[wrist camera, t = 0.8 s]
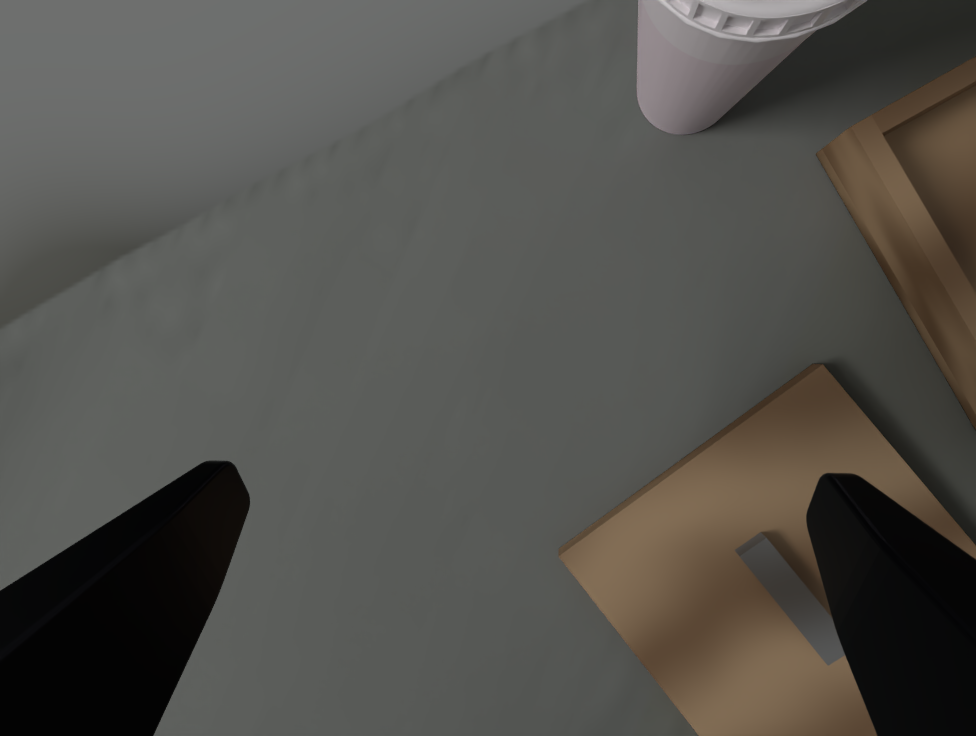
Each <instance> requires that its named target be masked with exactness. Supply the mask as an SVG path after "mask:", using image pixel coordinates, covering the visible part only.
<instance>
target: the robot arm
mask: <svg viewBox="0 0 976 736" xmlns="http://www.w3.org/2000/svg"><path fill="white" fill-rule="evenodd" d="M249 506H250V497H249V493H248V491H247V489H246V487H245V485H244V483H243V481H242V479H241V477H240V475H239V473H238V470H237V468H236V467H235V465H234V464H233V463H231V462H229V461H205V462H203V463H201V464H200V465H198V466H196V467H195V468H193V469H192V470H190V471H188V472H187V473H185V474H184V475H182V476H181V477H179V478H177V479H176V480H174V481H173V482H171V483H170V484H168V485H166V486H165V487H163V488H162V489H160V490H158V491H157V492H155V493H154V494H152V495H151V496H149V497H147V498H146V499H144V500H143V501H141V502H140V503H138V504H136V505H135V506H133V507H132V508H130V509H128V510H127V511H125V512H124V513H122V514H121V515H119V516H117V517H116V518H114V519H113V520H111V521H110V522H108V523H106V524H105V525H103V526H102V527H100V528H98V529H97V530H95V531H94V532H92V533H91V534H89V535H87V536H86V537H84V538H83V539H81V540H80V541H78V542H76V543H75V544H73V545H72V546H70V547H68V548H67V549H65V550H64V551H62V552H61V553H59V554H57V555H56V556H54V557H53V558H51V559H50V560H48V561H46V562H45V563H43V564H42V565H40V566H38V567H37V568H35V569H34V570H32V571H31V572H29V573H27V574H26V575H24V576H23V577H21V578H20V579H18V580H16V581H15V582H13V583H12V584H10V585H8V586H7V587H5V588H4V589H2V590H1V591H0V736H153V735H154V733H155V731H156V729H157V727H158V724H159V722H160V720H161V718H162V716H163V714H164V711H165V709H166V707H167V705H168V703H169V701H170V699H171V696H172V694H173V692H174V690H175V688H176V686H177V684H178V681H179V679H180V677H181V675H182V673H183V671H184V669H185V666H186V664H187V662H188V660H189V658H190V656H191V654H192V651H193V649H194V647H195V645H196V643H197V641H198V639H199V636H200V634H201V632H202V630H203V628H204V626H205V624H206V621H207V619H208V617H209V615H210V613H211V611H212V608H213V606H214V604H215V602H216V599H217V597H218V595H219V592H220V589H221V587H222V584H223V582H224V579H225V576H226V573H227V570H228V568H229V565H230V562H231V559H232V556H233V553H234V550H235V548H236V545H237V542H238V539H239V536H240V533H241V531H242V528H243V525H244V522H245V519H246V516H247V514H248V511H249ZM806 524H807V529H808V533H809V537H810V540H811V544H812V547H813V551H814V555H815V558H816V562H817V565H818V569H819V573H820V576H821V580H822V583H823V587H824V591H825V594H826V598H827V602H828V605H829V609H830V612H831V616H832V619H833V622H834V626H835V629H836V632H837V635H838V638H839V640H840V643H841V646H842V648H843V651H844V654H845V656H846V659H847V661H848V664H849V666H850V669H851V671H852V674H853V676H854V679H855V681H856V684H857V686H858V689H859V691H860V694H861V696H862V699H863V701H864V704H865V706H866V709H867V711H868V714H869V716H870V719H871V721H872V724H873V726H874V729H875V731H876V734H877V736H976V559H975V558H973V557H972V556H971V555H969V554H968V553H967V552H965V551H964V550H962V549H961V548H960V547H958V546H957V545H955V544H954V543H953V542H951V541H950V540H948V539H947V538H946V537H944V536H943V535H941V534H940V533H939V532H937V531H936V530H935V529H933V528H932V527H930V526H929V525H928V524H926V523H925V522H923V521H922V520H921V519H919V518H918V517H916V516H915V515H914V514H912V513H911V512H909V511H908V510H907V509H905V508H904V507H902V506H901V505H900V504H898V503H897V502H896V501H894V500H893V499H891V498H890V497H889V496H887V495H886V494H884V493H883V492H882V491H880V490H879V489H877V488H876V487H875V486H873V485H872V484H870V483H869V482H868V481H866V480H865V479H864V478H862V477H860V476H859V475H856V474H852V473H825V474H823V475H822V476H821V477H820V478H819V480H818V483H817V485H816V488H815V491H814V493H813V496H812V499H811V501H810V504H809V507H808V510H807V514H806Z"/></svg>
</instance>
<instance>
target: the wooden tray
mask: <svg viewBox="0 0 976 736" xmlns="http://www.w3.org/2000/svg"><path fill="white" fill-rule="evenodd" d="M816 156H817V157H818V159H819V161H820V162H821V164H822V166H823V168H824V169H825V171H826V173H827V175H828V176H829V178H830V180H831V181H832V183H833V185H834V187H835V188H836V190H837V192H838V194H839V195H840V197H841V199H842V200H843V202H844V204H845V206H846V207H847V209H848V211H849V213H850V214H851V216H852V218H853V219H854V221H855V223H856V225H857V226H858V228H859V230H860V231H861V233H862V235H863V237H864V238H865V240H866V242H867V244H868V245H869V247H870V249H871V250H872V252H873V254H874V256H875V257H876V259H877V261H878V263H879V264H880V266H881V268H882V269H883V271H884V273H885V275H886V276H887V278H888V280H889V282H890V283H891V285H892V287H893V288H894V290H895V292H896V294H897V295H898V297H899V299H900V301H901V302H902V304H903V306H904V307H905V309H906V311H907V313H908V314H909V316H910V318H911V320H912V321H913V323H914V325H915V326H916V328H917V330H918V332H919V333H920V335H921V337H922V339H923V340H924V342H925V344H926V345H927V347H928V349H929V351H930V352H931V354H932V356H933V358H934V359H935V361H936V363H937V364H938V366H939V368H940V370H941V371H942V373H943V375H944V376H945V378H946V380H947V382H948V383H949V385H950V387H951V389H952V390H953V392H954V394H955V395H956V397H957V399H958V401H959V402H960V404H961V406H962V408H963V409H964V411H965V413H966V414H967V416H968V418H969V420H970V421H971V423H972V425H973V427H974V428H975V430H976V56H975V57H974V58H972V59H970V60H968V61H966V62H965V63H963V64H961V65H959V66H958V67H956V68H954V69H952V70H950V71H949V72H947V73H945V74H943V75H942V76H940V77H938V78H936V79H934V80H933V81H931V82H929V83H927V84H926V85H924V86H922V87H920V88H918V89H917V90H915V91H913V92H911V93H910V94H908V95H906V96H904V97H902V98H901V99H899V100H897V101H895V102H894V103H892V104H890V105H888V106H886V107H885V108H883V109H881V110H879V111H878V112H876V113H874V114H872V115H870V116H869V117H867V118H865V119H863V120H862V121H860V122H858V123H856V124H854V125H853V126H851V127H850V128H848V129H847V130H846V131H844V132H843V133H842V134H841V135H839V136H838V137H837V138H835V139H834V140H833V141H832V142H830V143H829V144H828V145H826V146H825V147H824V148H823V149H821V150H820V151H819V152H817V153H816Z"/></svg>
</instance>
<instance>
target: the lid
mask: <svg viewBox="0 0 976 736" xmlns="http://www.w3.org/2000/svg"><path fill="white" fill-rule="evenodd" d="M825 473H852V474H856V475H859V476H860V477H862V478H864V479H865V480H866V481H868V482H869V483H870V484H872V485H873V486H875V487H876V488H877V489H879V490H880V491H882V492H883V493H884V494H886V495H887V496H889V497H890V498H891V499H893V500H894V501H896V502H897V503H898V504H900V505H901V506H902V507H904V508H905V509H907V510H908V511H909V512H911V513H912V514H914V515H915V516H916V517H918V518H919V519H921V520H922V521H923V522H925V523H926V524H928V525H929V526H930V527H932V528H933V529H935V530H936V531H937V532H939V533H940V534H941V535H943V536H944V537H946V538H947V539H948V540H950V541H951V542H953V543H954V544H955V545H957V546H958V547H960V548H961V549H962V550H964V551H965V552H967V553H968V554H969V555H971V556H972V557H973V558H975V559H976V545H975V544H974V543H973V542H972V540H971V539H970V538H969V537H968V536H967V535H966V533H965V532H964V531H963V530H962V529H961V527H960V526H959V525H958V524H957V523H956V522H955V520H954V519H953V518H952V517H951V516H950V514H949V513H948V512H947V511H946V510H945V508H944V507H943V506H942V505H941V504H940V503H939V501H938V500H937V499H936V498H935V497H934V495H933V494H932V493H931V492H930V491H929V490H928V488H927V487H926V486H925V485H924V484H923V482H922V481H921V480H920V479H919V478H918V477H917V475H916V474H915V473H914V472H913V471H912V469H911V468H910V467H909V466H908V465H907V463H906V462H905V461H904V460H903V459H902V458H901V456H900V455H899V454H898V453H897V452H896V450H895V449H894V448H893V447H892V446H891V445H890V443H889V442H888V441H887V440H886V439H885V437H884V436H883V435H882V434H881V433H880V432H879V430H878V429H877V428H876V427H875V426H874V424H873V423H872V422H871V421H870V420H869V418H868V417H867V416H866V415H865V414H864V413H863V411H862V410H861V409H860V408H859V407H858V405H857V404H856V403H855V402H854V401H853V400H852V398H851V397H850V396H849V395H848V394H847V392H846V391H845V390H844V389H843V388H842V386H841V385H840V384H839V383H838V382H837V381H836V379H835V378H834V377H833V376H832V375H831V373H830V372H829V371H828V370H827V369H826V368H825V366H824V365H823V364H812V365H810V366H809V367H808V368H806V369H805V370H804V371H802V372H801V373H799V374H798V375H797V376H795V377H794V378H793V379H791V380H790V381H789V382H787V383H786V384H784V385H783V386H782V387H780V388H779V389H778V390H776V391H775V392H773V393H772V394H771V395H769V396H768V397H767V398H765V399H764V400H762V401H761V402H760V403H758V404H757V405H756V406H754V407H753V408H751V409H750V410H749V411H747V412H746V413H745V414H743V415H742V416H740V417H739V418H738V419H736V420H735V421H734V422H732V423H731V424H729V425H728V426H727V427H725V428H724V429H723V430H721V431H720V432H719V433H717V434H716V435H714V436H713V437H712V438H710V439H709V440H708V441H706V442H705V443H703V444H702V445H701V446H699V447H698V448H697V449H695V450H694V451H692V452H691V453H690V454H688V455H687V456H686V457H684V458H683V459H681V460H680V461H679V462H677V463H676V464H675V465H673V466H672V467H670V468H669V469H668V470H666V471H665V472H664V473H662V474H661V475H659V476H658V477H657V478H655V479H654V480H653V481H651V482H650V483H649V484H647V485H646V486H644V487H643V488H642V489H640V490H639V491H638V492H636V493H635V494H633V495H632V496H631V497H629V498H628V499H627V500H625V501H624V502H622V503H621V504H620V505H618V506H617V507H616V508H614V509H613V510H611V511H610V512H609V513H607V514H606V515H605V516H603V517H602V518H600V519H599V520H598V521H596V522H595V523H594V524H592V525H591V526H589V527H588V528H587V529H585V530H584V531H583V532H581V533H580V534H578V535H577V536H576V537H574V538H573V539H572V540H570V541H569V542H568V543H566V544H565V545H563V546H562V547H561V548H559V557H560V559H561V560H562V561H563V563H564V564H565V565H566V566H567V568H568V569H569V570H570V572H571V573H572V574H573V575H574V577H575V578H576V579H577V580H578V582H579V583H580V584H581V586H582V587H583V588H584V589H585V591H586V592H587V593H588V595H589V596H590V597H591V598H592V600H593V601H594V602H595V603H596V605H597V606H598V607H599V609H600V610H601V611H602V612H603V614H604V615H605V616H606V618H607V619H608V620H609V621H610V623H611V624H612V625H613V626H614V628H615V629H616V630H617V632H618V633H619V634H620V635H621V637H622V638H623V639H624V641H625V642H626V643H627V644H628V646H629V647H630V648H631V649H632V651H633V652H634V653H635V655H636V656H637V657H638V658H639V660H640V661H641V662H642V664H643V665H644V666H645V667H646V669H647V670H648V671H649V672H650V674H651V675H652V676H653V678H654V679H655V680H656V681H657V683H658V684H659V685H660V687H661V688H662V689H663V690H664V692H665V693H666V694H667V695H668V697H669V698H670V699H671V701H672V702H673V703H674V704H675V706H676V707H677V708H678V710H679V711H680V712H681V713H682V715H683V716H684V717H685V718H686V720H687V721H688V722H689V724H690V725H691V726H692V727H693V729H694V730H695V731H696V733H697V734H698V735H699V736H877V734H876V731H875V729H874V726H873V724H872V721H871V719H870V716H869V714H868V711H867V709H866V706H865V704H864V701H863V699H862V696H861V694H860V691H859V689H858V686H857V684H856V681H855V679H854V676H853V674H852V671H851V669H850V666H849V664H848V661H847V659H846V656H845V654H844V651H843V648H842V646H841V643H840V640H839V638H838V635H837V632H836V629H835V626H834V622H833V619H832V616H831V612H830V609H829V605H828V602H827V598H826V594H825V591H824V587H823V583H822V580H821V576H820V573H819V569H818V565H817V562H816V558H815V555H814V551H813V547H812V544H811V540H810V537H809V533H808V529H807V524H806V514H807V510H808V507H809V504H810V501H811V499H812V496H813V493H814V491H815V488H816V485H817V483H818V480H819V478H820V477H821V476H822V475H823V474H825Z"/></svg>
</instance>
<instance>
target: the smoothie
mask: <svg viewBox="0 0 976 736" xmlns="http://www.w3.org/2000/svg"><path fill="white" fill-rule="evenodd" d="M866 1H867V0H638V52H637V99H638V103H639V106H640V108H641V111H642V113H643V114H644V116H645V117H646V118H647V120H648V121H649V122H650V123H651V124H653V125H654V126H655V127H657V128H658V129H660V130H662V131H665V132H667V133H671V134H677V135H686V134H693V133H697V132H700V131H702V130H704V129H706V128H708V127H710V126H712V125H713V124H714V123H716V122H717V121H718V120H719V119H720V118H721V117H722V116H723V115H724V114H725V113H727V112H728V111H729V110H730V109H731V108H732V107H733V106H734V105H735V104H736V103H737V102H738V101H740V100H741V99H742V98H743V97H744V96H745V95H746V94H747V93H748V92H749V91H750V90H751V89H753V88H754V87H755V86H756V85H757V84H758V83H759V82H760V81H761V80H762V79H763V78H764V77H766V76H767V75H768V74H769V73H770V72H771V71H772V70H773V69H774V68H775V67H776V66H777V65H779V64H780V63H781V62H782V61H783V60H784V59H785V58H786V57H787V56H788V55H789V54H790V53H792V52H793V51H794V50H795V49H796V48H797V47H798V46H799V45H800V44H801V43H802V42H803V41H805V40H806V39H807V38H808V37H809V36H811V35H812V34H813V33H814V32H815V31H816V30H818V29H821V28H823V27H826V26H828V25H831V24H834V23H835V22H837V21H838V20H840V19H841V18H843V17H844V16H845V15H847V14H848V13H850V12H851V11H853V10H854V9H856V8H857V7H859V6H860V5H862V4H863V3H865V2H866Z"/></svg>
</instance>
